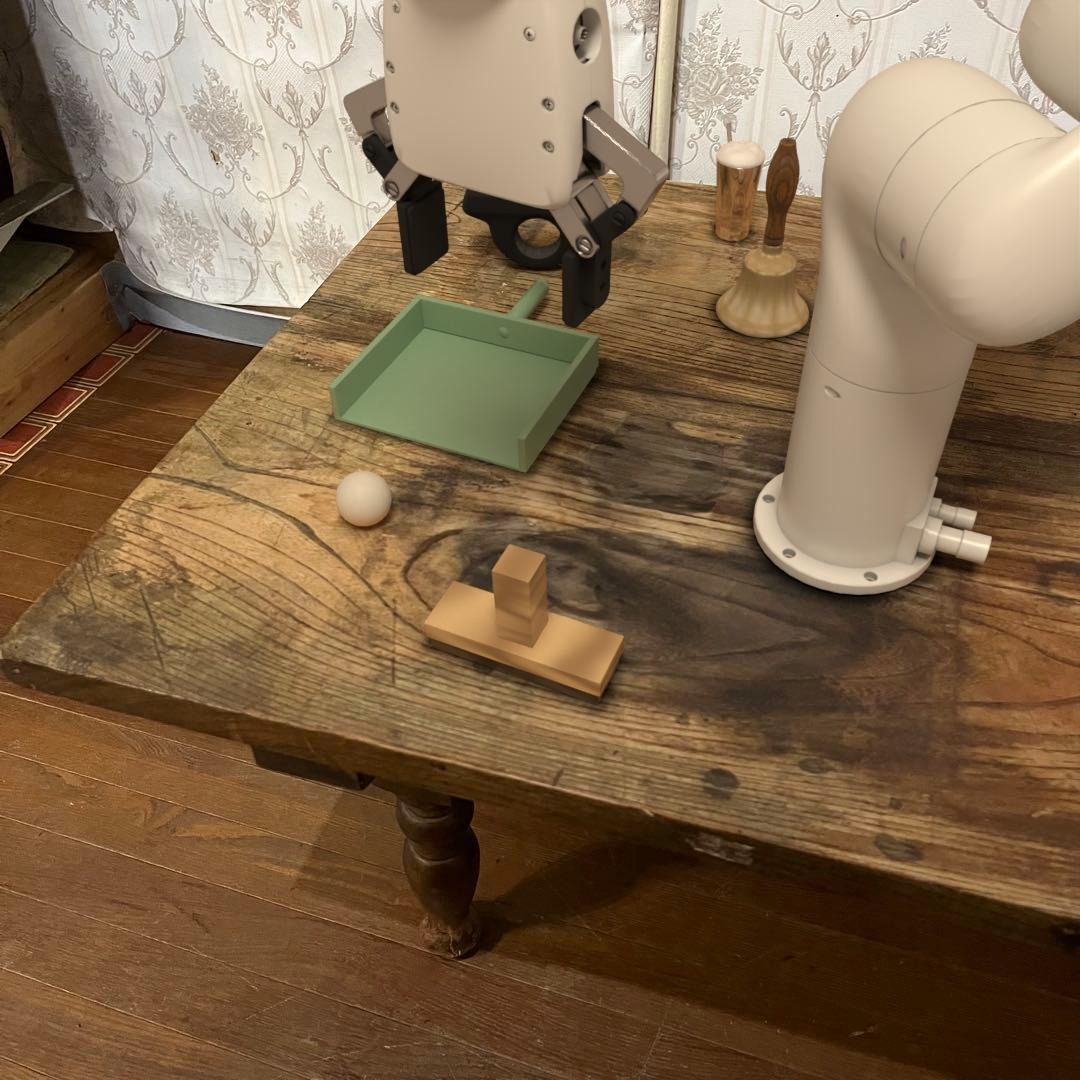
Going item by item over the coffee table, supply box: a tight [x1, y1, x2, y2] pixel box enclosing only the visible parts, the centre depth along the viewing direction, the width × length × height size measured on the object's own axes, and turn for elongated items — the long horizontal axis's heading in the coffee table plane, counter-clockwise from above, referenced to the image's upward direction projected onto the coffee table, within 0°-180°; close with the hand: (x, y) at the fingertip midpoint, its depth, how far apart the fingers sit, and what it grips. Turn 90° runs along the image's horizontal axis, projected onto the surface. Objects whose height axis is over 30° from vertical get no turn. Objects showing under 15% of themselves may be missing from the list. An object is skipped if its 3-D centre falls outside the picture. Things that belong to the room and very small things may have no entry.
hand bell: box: [715, 137, 810, 339], centre depth 88 cm, size 8×8×16 cm
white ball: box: [334, 470, 393, 527], centre depth 74 cm, size 4×4×4 cm
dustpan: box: [327, 279, 600, 474], centre depth 87 cm, size 22×17×3 cm
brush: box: [423, 543, 625, 706], centre depth 63 cm, size 12×4×9 cm, turn 65°
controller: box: [461, 188, 592, 270], centre depth 97 cm, size 4×12×10 cm, turn 86°
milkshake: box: [715, 121, 766, 242], centre depth 100 cm, size 5×5×10 cm
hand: (503, 287), depth 54 cm, fingers open, 9 cm apart
